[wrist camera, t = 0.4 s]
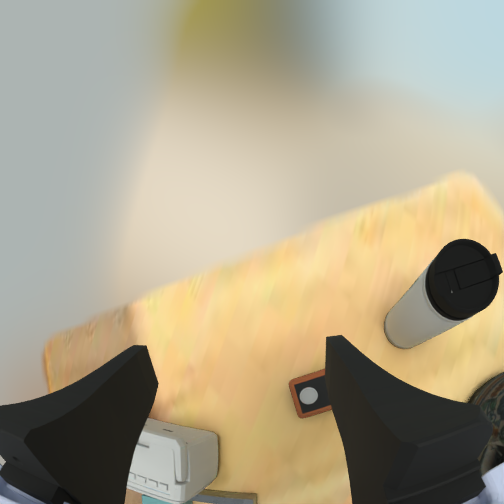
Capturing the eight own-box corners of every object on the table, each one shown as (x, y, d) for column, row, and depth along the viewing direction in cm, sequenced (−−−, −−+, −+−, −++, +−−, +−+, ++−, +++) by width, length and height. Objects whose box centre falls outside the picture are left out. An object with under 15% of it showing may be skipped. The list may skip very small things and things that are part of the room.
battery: (352, 395, 34) (365, 398, 25) (302, 412, 34) (298, 421, 25) (343, 364, 36) (352, 358, 27) (293, 381, 36) (286, 380, 27)
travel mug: (432, 341, 34) (513, 297, 16) (389, 354, 35) (452, 321, 17) (421, 298, 37) (487, 228, 19) (379, 310, 38) (426, 243, 20)
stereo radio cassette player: (97, 443, 36) (-1, 447, 18) (101, 397, 40) (1, 384, 22) (219, 479, 32) (146, 535, 14) (224, 426, 35) (149, 452, 17)
